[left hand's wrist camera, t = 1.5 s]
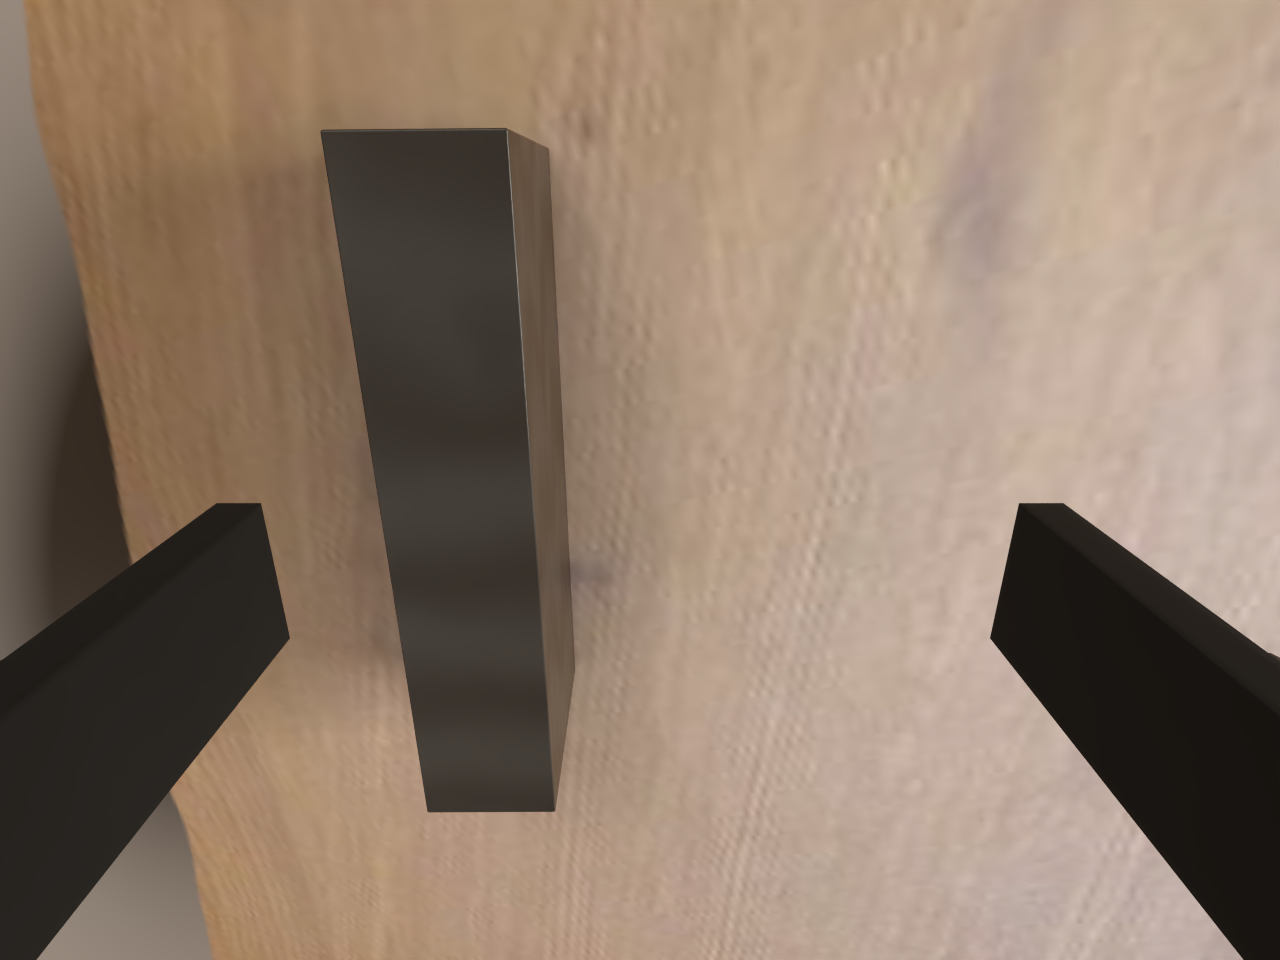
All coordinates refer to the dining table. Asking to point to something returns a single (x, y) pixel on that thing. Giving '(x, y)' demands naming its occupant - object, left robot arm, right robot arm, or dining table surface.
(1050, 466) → the dining table surface
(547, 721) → the bar
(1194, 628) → the left robot arm
